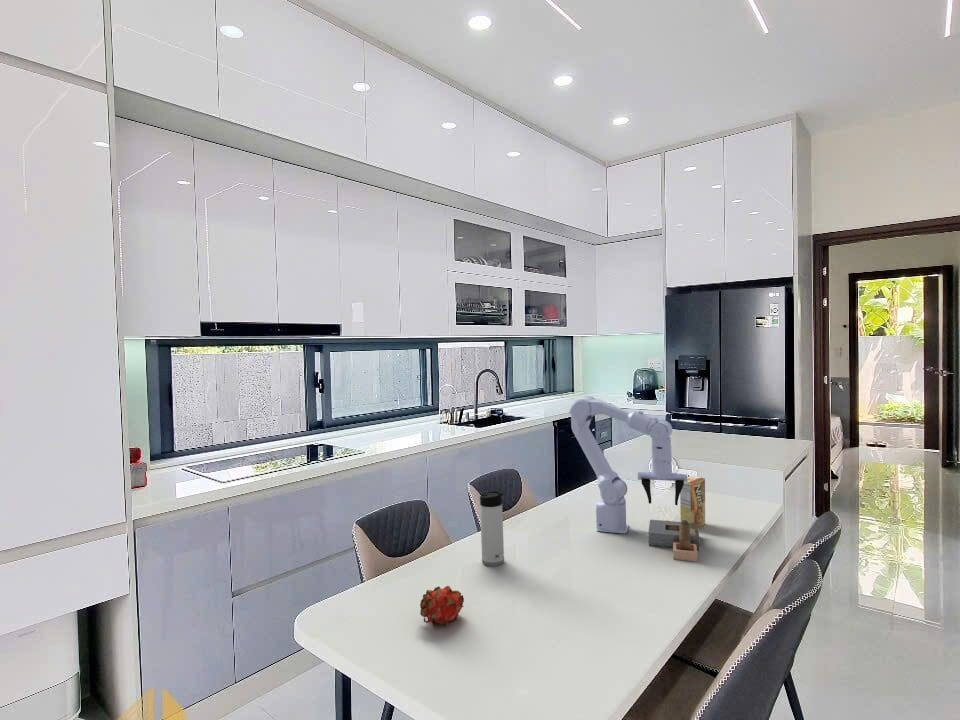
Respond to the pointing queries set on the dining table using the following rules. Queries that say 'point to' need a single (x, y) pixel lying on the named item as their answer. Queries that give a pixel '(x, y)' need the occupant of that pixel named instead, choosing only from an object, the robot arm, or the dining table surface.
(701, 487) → the candy box
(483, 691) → the dining table surface
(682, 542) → the brown wooden cylinder
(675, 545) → the holder
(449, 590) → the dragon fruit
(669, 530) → the panel
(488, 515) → the travel mug
